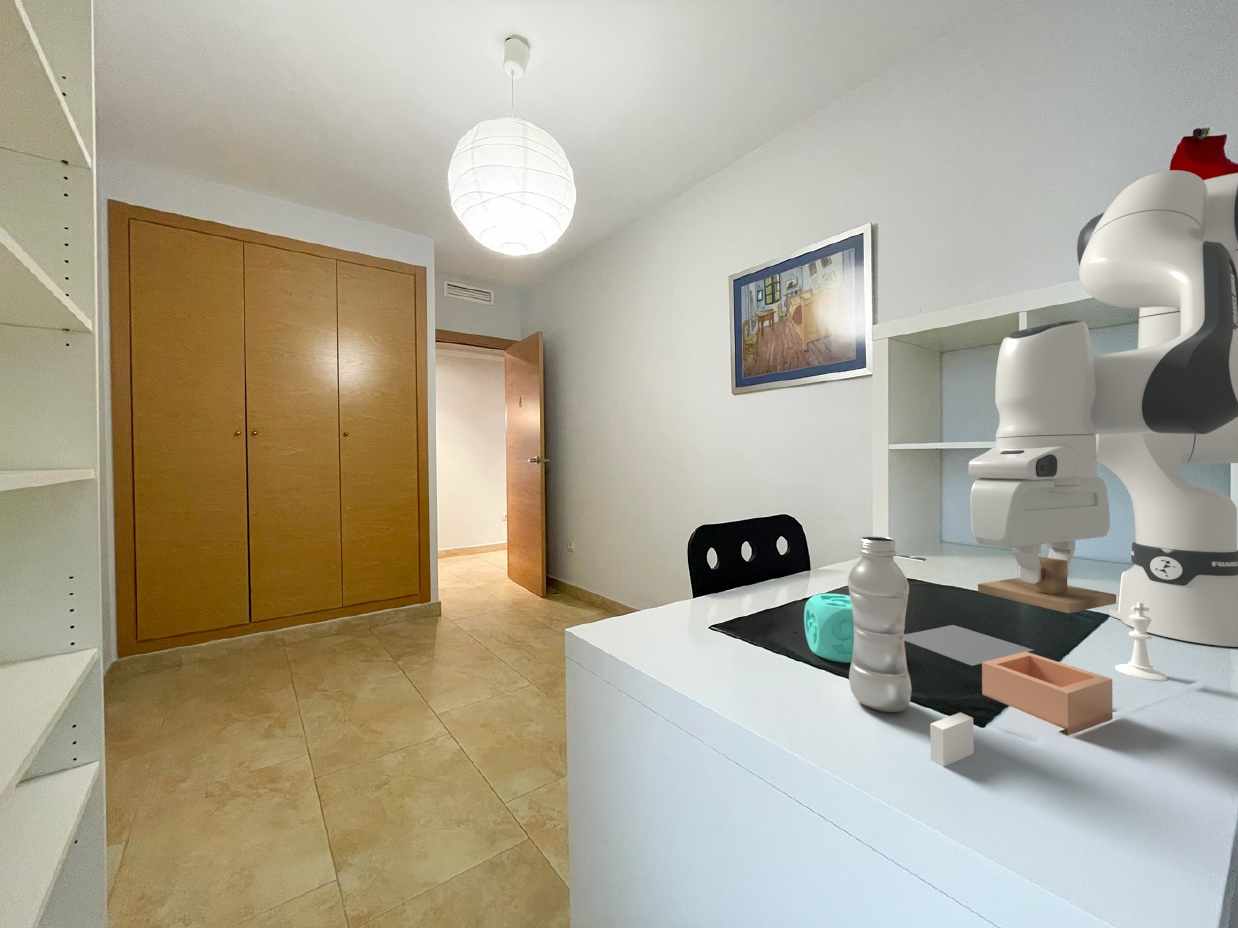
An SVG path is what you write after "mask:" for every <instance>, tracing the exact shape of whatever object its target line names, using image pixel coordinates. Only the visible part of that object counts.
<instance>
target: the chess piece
mask: <svg viewBox="0 0 1238 928" xmlns="http://www.w3.org/2000/svg"><path fill="white" fill-rule="evenodd" d="M1131 610H1134V611H1137V614H1133V615H1130V616H1129V618H1130V620H1131V622H1132V625H1133V627H1132V628H1133V629H1134V630H1133V631H1132V630H1131V631H1129V632H1128V636H1131V637H1133V638H1134V644H1133V650H1132V655H1131V660H1130V661H1127V663H1120V664H1116V665H1115V666H1114V669H1115V670H1116V671H1117V672H1119V673H1122V674H1124V675H1126V676H1129V677H1132V678H1136V679H1140V680H1145V681H1146V680H1147V681H1150V682H1151V681H1152V682H1166V681H1168V680H1169V679H1168V676H1167V675H1165V674H1164V673H1162V672H1160V671H1158V670H1156V669H1154V666H1153V665H1151V663H1150V661H1149V655H1148V648H1147V641H1146V640H1151V639H1153V637H1152V635H1151V634H1149V633H1148V632H1146V630H1147V629H1148V626H1149V624H1150V622H1151V618H1149V617H1147V616H1145V615H1143V611H1149V608H1148V607H1143V603H1142V602H1137V607H1134V606H1131Z"/></svg>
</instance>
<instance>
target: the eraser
mask: <svg viewBox="0 0 1238 928" xmlns="http://www.w3.org/2000/svg"><path fill="white" fill-rule="evenodd" d="M929 726H930V732H929V733H930V736H929V737H930V761H932V762H934V763H936V764H937V765H939V766H941V767H946V766H949V765H950V764H951V765H952V764H953V763H955V762H958V761H960V760H963V759H964V758H967V757H969V756H971V755H974V752H975V748H974V745H975V744H974V717H972V716H969V715H967V714H965V713H963V712H961V711H960V712H957V713H956V714H952V715H950V716H947V717H944V718H941V719H938V720H936V721H933V722H931V723H929Z"/></svg>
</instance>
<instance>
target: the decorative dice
mask: <svg viewBox="0 0 1238 928" xmlns="http://www.w3.org/2000/svg"><path fill="white" fill-rule="evenodd" d="M803 611H804V612H803V613H804V614H803V616H804V617H803V623H804V631H805V637H806V638H805V639H806V641H807V645H808V647H809V648H810V650H811V652H812V653H813V654H815V655H816V656H817V657H819V658H823V659H825V660H828V661H831V662H837V663H848V664H849V663H850V664H851V662H852V656H853V642H854V627H853V626H854V623H853V613H852V605H851V599H850V595H847V594H840V593H819V594H815V595H812V596H811V597H810V598H809V599H807V601H806V603H805V605H804V610H803Z"/></svg>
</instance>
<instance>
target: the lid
mask: <svg viewBox="0 0 1238 928" xmlns="http://www.w3.org/2000/svg"><path fill="white" fill-rule="evenodd" d="M1038 557H1039V561H1040V565H1041V567H1044V568H1045V581H1044V582H1041V583H1035V584H1034V583H1029V582H1024V581H1022V580H1021V578H1020V577H1015V578H1010V579H1002V580H997V581H996V580H995V581H989V582H983V583H978V584H977V593H980V594H983V595H984V594H985V595H988V596H992V597H997V598H1001V599H1006V600H1010V601H1015V602H1017V603H1019V602H1020V603H1023V604H1028V605H1032V606H1036V607H1041V608H1045V609H1048V610H1053V611H1058V612H1060V613H1061V612H1062V613H1064V614H1065V613H1066V614H1071V613H1072V614H1073V613H1077V612H1083V611H1087V610H1091V609H1097V608H1100V607H1106V606H1111V605H1116V604H1117V594H1115V593H1111V592H1107V591H1106V592H1105V591H1100V590H1093V589H1089V588H1084V587H1079V586H1074V585H1073V586H1072V585H1068V577H1067V560H1060V559H1054V558H1048V556H1047V557H1046V556H1039V555H1038Z"/></svg>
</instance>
